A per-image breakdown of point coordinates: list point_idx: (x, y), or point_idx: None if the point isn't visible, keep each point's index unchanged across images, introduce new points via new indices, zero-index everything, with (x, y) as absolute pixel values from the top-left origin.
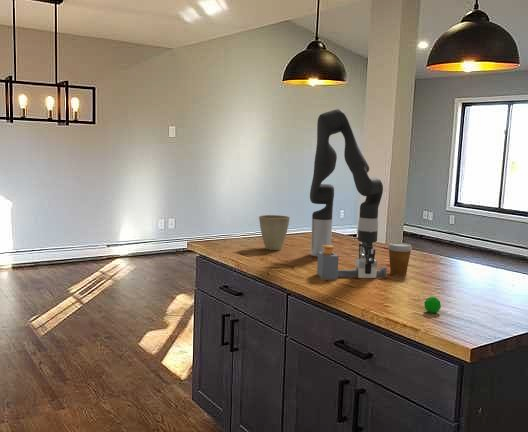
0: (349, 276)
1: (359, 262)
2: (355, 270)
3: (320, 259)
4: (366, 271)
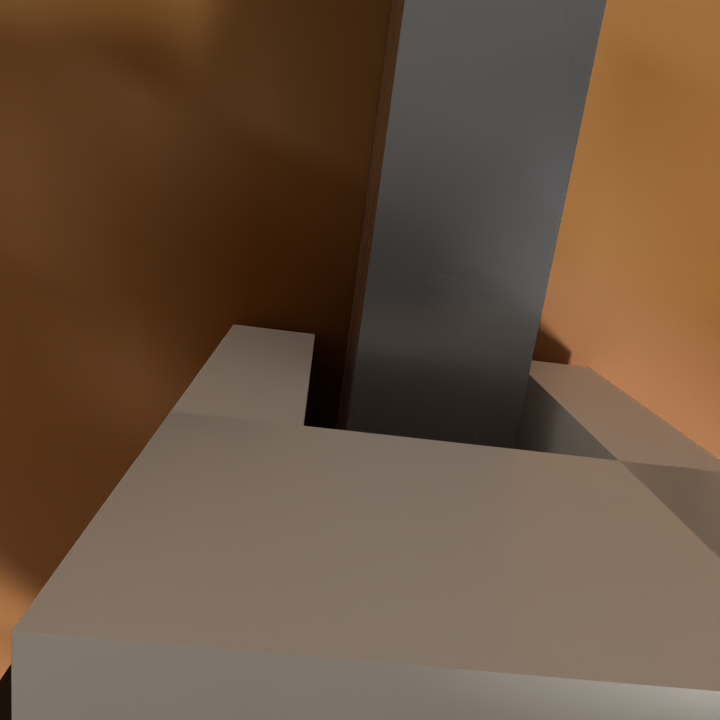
0: (380, 111)
1: (77, 540)
2: (445, 340)
3: None
4: None
